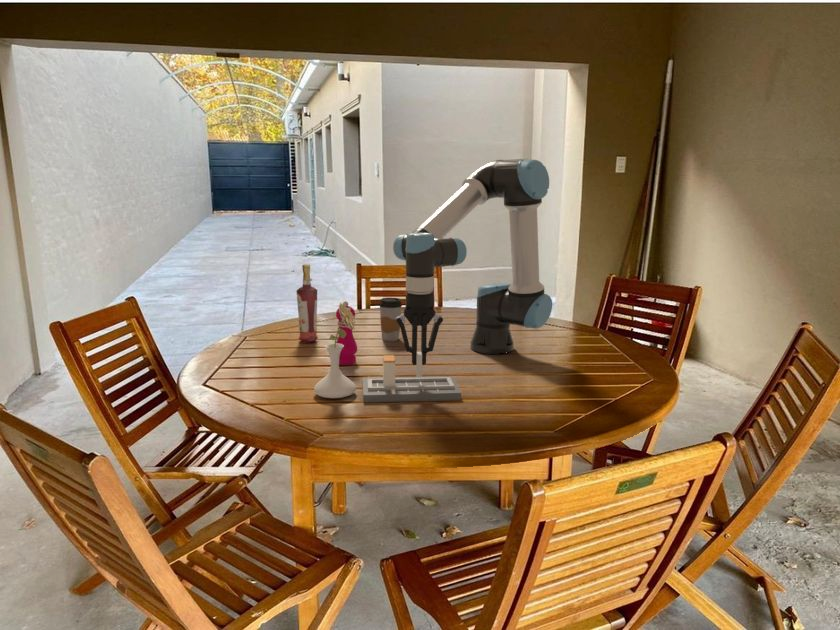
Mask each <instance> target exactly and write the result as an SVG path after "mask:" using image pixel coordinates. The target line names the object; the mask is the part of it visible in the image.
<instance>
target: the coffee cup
mask: <svg viewBox="0 0 840 630" xmlns="http://www.w3.org/2000/svg"><path fill="white" fill-rule="evenodd" d="M401 300H402V299H400V298H398V297H384V298H380V302H379V305H378V306H379V310H380V311H379V312H380V313H379V314H380V330H381V338H382V340H383V341H385V342H395V341H396V342H397V341H399V338H400V332H401V328H400V326H399V324H398V323H397V321H396V317H397V316H400V315H402V306H403V305H402V304H403V303H402V301H401Z"/></svg>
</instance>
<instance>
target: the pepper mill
mask: <svg viewBox="0 0 840 630" xmlns="http://www.w3.org/2000/svg"><path fill="white" fill-rule="evenodd" d="M343 303H345V304H346V307H347V308H350V310H351V313H352V314H353V316H354V317H355V318H356V311H355V308H353V307H352V306H351V305H349V302H348V301H346V300H344V301H343V302H342V304H343ZM335 316H336V319H337V320H338V321H337V326H338V327H339V324H340V322H341V320H342V318H341V316H340V313H339V307H338V308H337V309H336V313H335ZM339 329H342V330H344V331H345V332H346V336H345V337H344V338H341V337H340V336H339V335H338V337H339V338H338V339H337V340H336V343H339V344H343V345H344V347H343V348H342V350H341V352H340V356H339V365H341V366H347V365H353V364H355V363H356V362H357V356H356V355H355V354H356V353H357V352H358V345H357V342H356V340H355V338H354V334H353V330H352V329H350V328H347V326H346V325H345V324H344V322H343V321H342V323H341V325H340V328H339Z"/></svg>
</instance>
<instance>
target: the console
mask: <svg viewBox="0 0 840 630" xmlns="http://www.w3.org/2000/svg"><path fill="white" fill-rule="evenodd" d="M362 398H363V399H362V401H363V403H387V402H389V403H390V402H391V403H393V402H396V403H397V402H430V401H431V402H433V401H436V402H437V401H461V400H462V391H461V389H460V388H459V385H458V384H457V381H456V380H455V378H454V376H453V375H447V376H446V375H444V376H443V375H441V376H440V375H439V376H438V375H437V376H422V377H416V376H395V386H386V387H384V385H383V377H362Z"/></svg>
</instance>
